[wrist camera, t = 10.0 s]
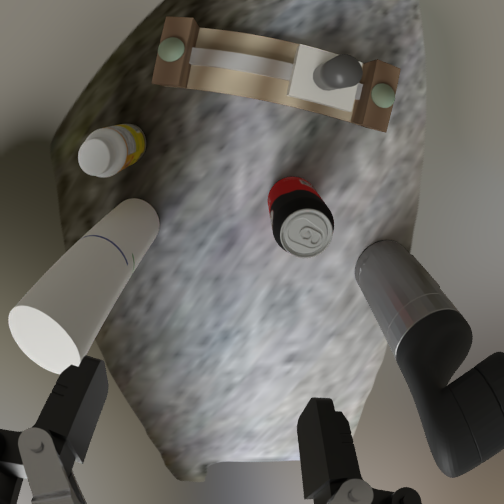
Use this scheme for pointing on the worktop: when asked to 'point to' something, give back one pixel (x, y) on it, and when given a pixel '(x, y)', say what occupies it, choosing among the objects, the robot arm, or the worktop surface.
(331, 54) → the carriage
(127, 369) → the worktop surface
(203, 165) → the worktop surface
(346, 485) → the robot arm
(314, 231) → the beverage can
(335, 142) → the worktop surface
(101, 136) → the supplement bottle
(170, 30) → the rail
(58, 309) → the cylindrical container
